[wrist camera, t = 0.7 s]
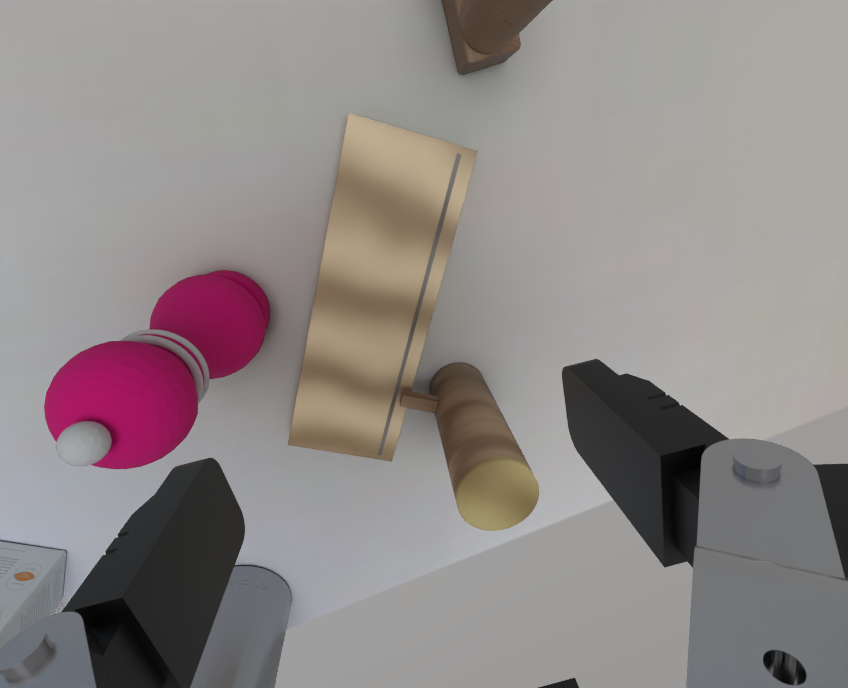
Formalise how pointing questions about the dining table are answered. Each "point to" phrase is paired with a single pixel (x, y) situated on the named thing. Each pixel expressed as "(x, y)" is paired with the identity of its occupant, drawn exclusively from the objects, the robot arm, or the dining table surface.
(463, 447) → the wooden cylinder yellow top
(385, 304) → the board
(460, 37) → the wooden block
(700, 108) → the dining table surface
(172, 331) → the pepper mill
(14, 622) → the small box
